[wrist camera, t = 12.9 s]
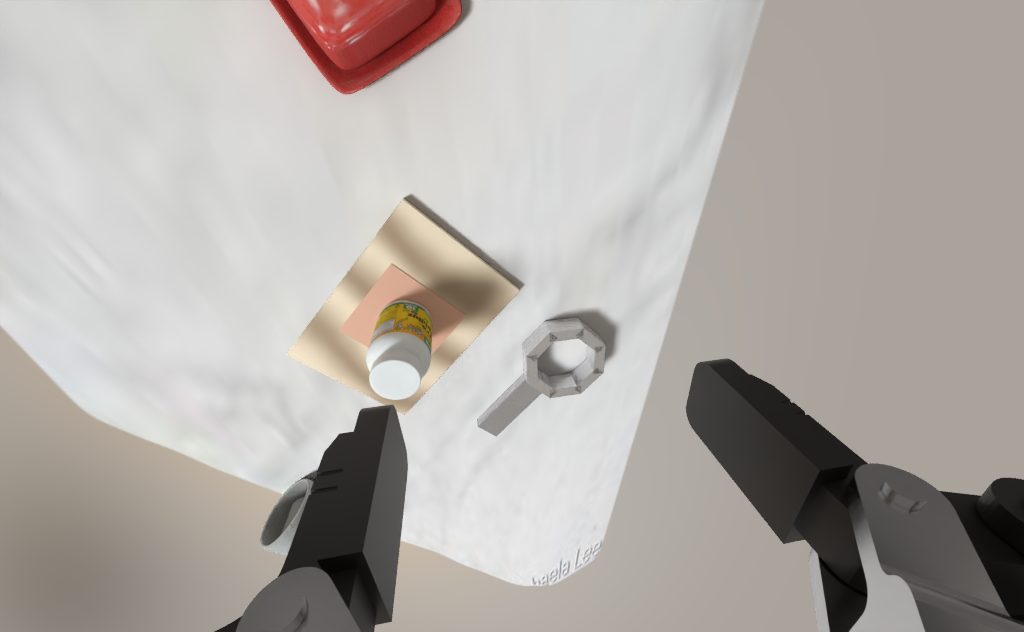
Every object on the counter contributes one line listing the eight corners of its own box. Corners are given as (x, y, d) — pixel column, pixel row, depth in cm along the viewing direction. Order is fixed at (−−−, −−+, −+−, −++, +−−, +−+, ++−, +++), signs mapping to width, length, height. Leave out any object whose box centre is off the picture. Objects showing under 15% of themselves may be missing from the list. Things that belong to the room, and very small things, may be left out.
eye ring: (560, 304, 41) (567, 314, 39) (611, 345, 45) (620, 357, 42) (458, 409, 46) (458, 423, 43) (512, 438, 49) (515, 453, 47)
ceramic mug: (328, 523, 52) (311, 584, 45) (274, 497, 48) (247, 560, 41) (383, 482, 50) (373, 539, 43) (331, 452, 46) (312, 510, 39)
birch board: (403, 197, 33) (402, 199, 33) (518, 287, 39) (519, 291, 38) (289, 350, 39) (285, 355, 38) (405, 410, 44) (404, 415, 44)
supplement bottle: (366, 316, 37) (343, 374, 29) (411, 288, 37) (401, 339, 28) (401, 353, 40) (389, 416, 31) (443, 328, 39) (442, 385, 31)
